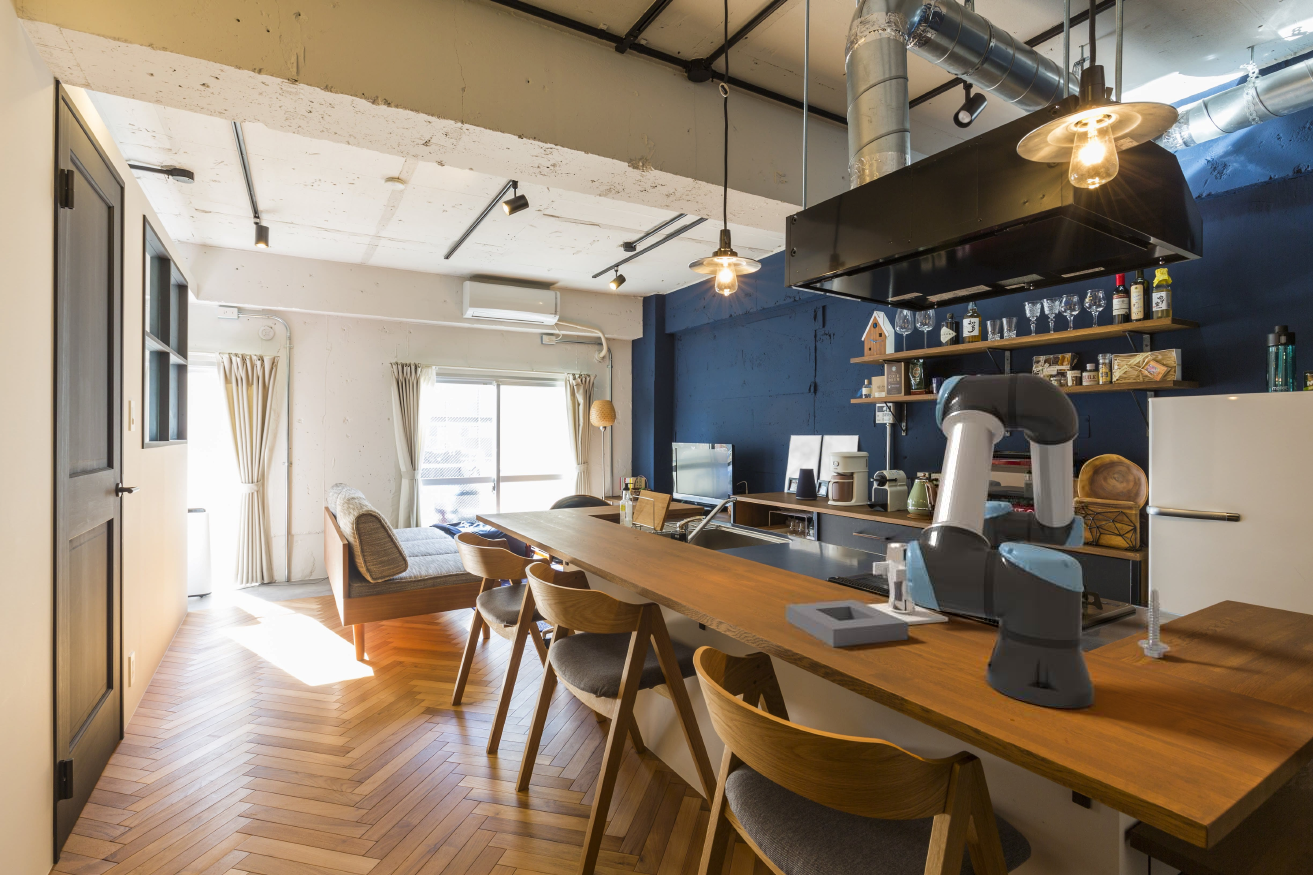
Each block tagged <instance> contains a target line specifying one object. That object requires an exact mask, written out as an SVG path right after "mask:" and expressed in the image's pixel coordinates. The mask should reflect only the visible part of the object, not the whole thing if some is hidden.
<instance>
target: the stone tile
mask: <svg viewBox="0 0 1313 875" xmlns="http://www.w3.org/2000/svg"><path fill="white" fill-rule="evenodd" d="M867 605H868V606H870V607H873V608H875V609H878V610H880V611H882V612H885V613H887V614H890V615H892V616H895V617H897V618H899V619H902V620H904V621H907V622H908V626H911V625H912V626H914V625H921V624H922V625H924V624H933V623H942V622H949V617H948V616H945V615H942V614H939V613H937V612H934V611H931V610H928V609H926V608H924V607H922V606H919V605H915V608H916V610H915V611H914V612H909V613H905V612H897V611H893V610H890V609H889V608H888V602H886V603H872V604H871V603H870V604H867Z"/></svg>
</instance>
